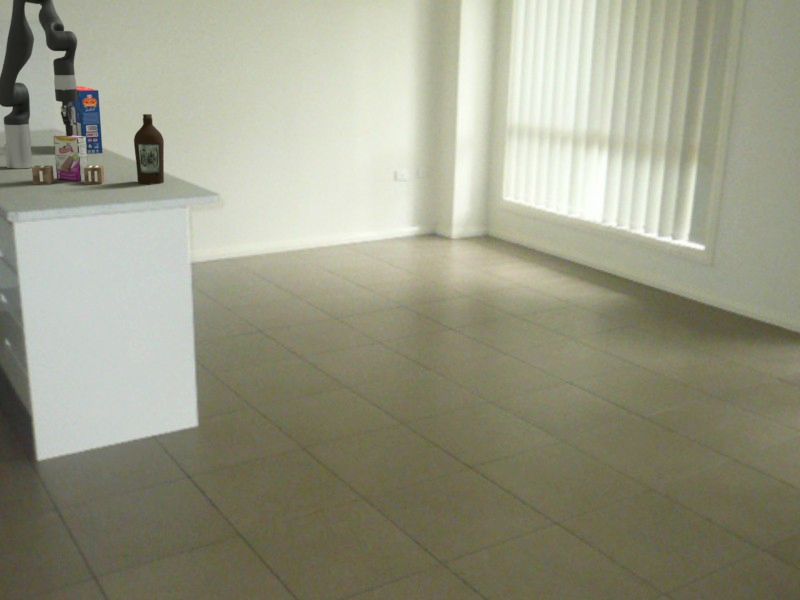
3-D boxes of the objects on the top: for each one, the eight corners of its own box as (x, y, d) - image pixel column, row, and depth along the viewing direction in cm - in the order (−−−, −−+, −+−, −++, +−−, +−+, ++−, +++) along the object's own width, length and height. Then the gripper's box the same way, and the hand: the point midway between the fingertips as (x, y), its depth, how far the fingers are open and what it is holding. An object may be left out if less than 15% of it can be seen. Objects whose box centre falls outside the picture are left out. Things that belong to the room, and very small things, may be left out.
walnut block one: (33, 184, 331) (31, 167, 330) (37, 181, 337) (35, 165, 335) (50, 184, 332) (49, 167, 330) (54, 181, 338) (52, 165, 336)
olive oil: (136, 180, 345) (133, 113, 338) (165, 179, 348) (162, 113, 341) (135, 184, 335) (131, 115, 328) (165, 184, 338) (162, 115, 331)
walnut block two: (84, 184, 334) (83, 167, 332) (87, 181, 340) (86, 165, 338) (101, 184, 335) (100, 167, 333) (104, 181, 341) (103, 165, 339)
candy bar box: (56, 179, 342) (52, 135, 338) (65, 177, 347) (61, 134, 342) (81, 182, 339) (77, 137, 334) (89, 180, 343) (86, 136, 339)
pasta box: (102, 153, 416) (98, 90, 408) (84, 154, 411) (80, 90, 403) (85, 146, 438) (80, 86, 430) (68, 146, 434) (63, 86, 426)
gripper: (58, 86, 339) (62, 133, 344) (51, 88, 326) (55, 137, 331) (79, 86, 340) (83, 133, 345) (73, 89, 328) (77, 137, 332)
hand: (69, 135), depth 338 cm, fingers closed
